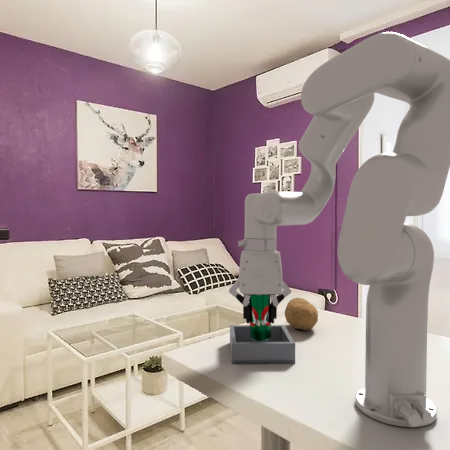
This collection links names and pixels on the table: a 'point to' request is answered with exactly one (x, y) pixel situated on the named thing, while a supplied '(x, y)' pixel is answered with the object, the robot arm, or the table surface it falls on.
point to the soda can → (260, 317)
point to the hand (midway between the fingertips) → (259, 321)
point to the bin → (261, 346)
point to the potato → (301, 314)
